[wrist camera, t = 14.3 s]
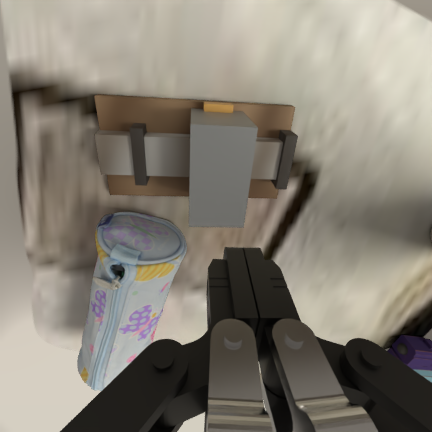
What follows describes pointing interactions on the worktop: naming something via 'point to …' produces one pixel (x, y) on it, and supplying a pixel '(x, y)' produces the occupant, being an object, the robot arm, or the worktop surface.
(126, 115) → the rail board
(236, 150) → the din module
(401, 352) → the pistol
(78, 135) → the worktop surface
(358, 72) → the worktop surface
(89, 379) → the pencil case
